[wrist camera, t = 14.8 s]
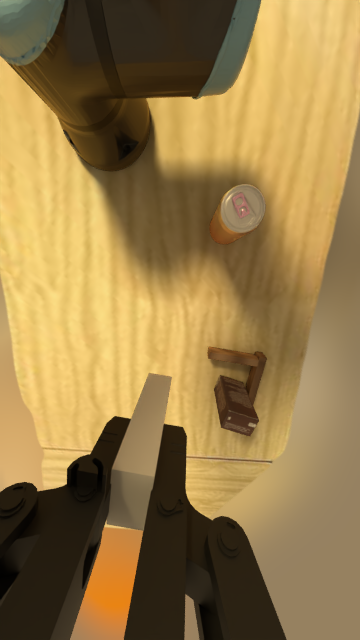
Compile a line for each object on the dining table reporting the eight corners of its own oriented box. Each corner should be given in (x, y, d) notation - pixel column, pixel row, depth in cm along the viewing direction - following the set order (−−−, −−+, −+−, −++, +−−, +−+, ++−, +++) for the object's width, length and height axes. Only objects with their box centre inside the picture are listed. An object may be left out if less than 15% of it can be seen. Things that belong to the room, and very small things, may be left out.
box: (213, 390, 50) (219, 428, 38) (220, 374, 49) (229, 408, 37) (236, 397, 50) (250, 438, 39) (244, 382, 49) (260, 419, 37)
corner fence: (198, 396, 51) (198, 404, 48) (209, 343, 47) (210, 348, 44) (247, 405, 51) (250, 413, 48) (262, 352, 47) (266, 358, 44)
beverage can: (232, 205, 40) (256, 171, 25) (245, 235, 41) (274, 219, 26) (204, 221, 41) (211, 198, 26) (217, 250, 42) (230, 243, 27)
